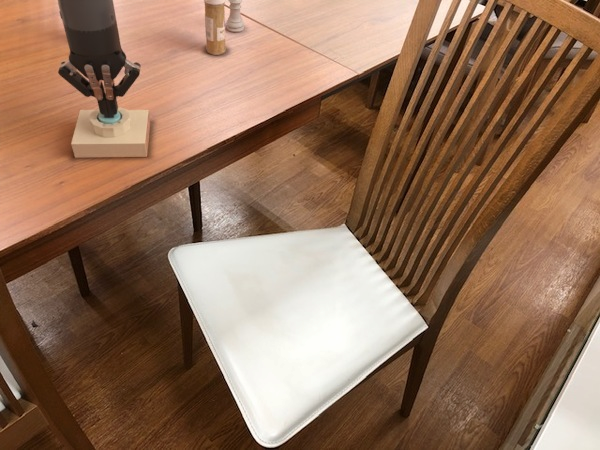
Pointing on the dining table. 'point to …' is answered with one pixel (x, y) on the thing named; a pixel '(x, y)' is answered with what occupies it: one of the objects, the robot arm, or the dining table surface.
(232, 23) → the rook chess piece
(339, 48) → the dining table surface
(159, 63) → the dining table surface
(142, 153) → the button base
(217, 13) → the sprinkles bottle
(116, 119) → the teal button cap
